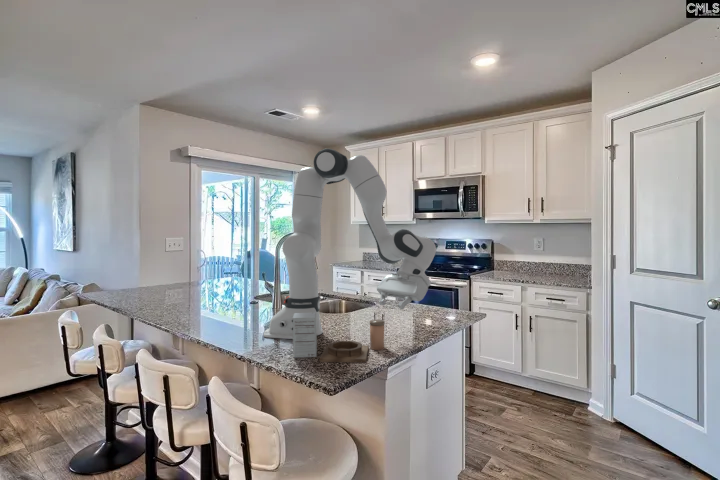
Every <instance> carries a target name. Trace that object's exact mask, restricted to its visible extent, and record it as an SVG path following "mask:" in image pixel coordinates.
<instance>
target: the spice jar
mask: <svg viewBox="0 0 720 480" xmlns="http://www.w3.org/2000/svg"><path fill="white" fill-rule="evenodd" d="M385 322H386V321H385V320H384V319H372V320H371V319H370V320H369V348H370V350H373V351H382V350H384V349H385Z"/></svg>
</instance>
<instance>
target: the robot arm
mask: <svg viewBox="0 0 720 480" xmlns="http://www.w3.org/2000/svg"><path fill="white" fill-rule="evenodd" d="M344 180H347V181H348V183H349V184H350V186H351V187H352V189H353V191H354V193H355V195H356V196H357V198H358V201H359V203H360V205H361V209H362V212H363V215H364V218H365V220H366V222H367V225H368V227H369V230H370V231H371V233H372V236H373V238H374V240H375V244H376V249H377V252H378V253H377V254H378V256H379V258H380V259H381V260H382V261H383V262H385V263H387V264H389V265H390V264H391V265H393V264H397V263H398V262H399V261H401V260H402V263H401V265H400V266H399V268H398V270H397V271H396V273H390V274H387V275H386V276H384V278H382V280H381V281H380V282H379V283H378V285H377V286H376V291H377V292H378V294H379V295H380V299H379V301H378V304H379V305H380V306H385V304H386V302H387V301H386V299H388V297H390V298H391V297H392V298H397V299H403V300H402V301H399V302H398V304H397V307H398V309H399V310H400V309H401V310H404V309H405V307H406V306H408V305H409V304H410V303H411V302H412V301H415V302H420V301H422V300H423V299H424V298H425V296H426V294H427V292H428V290H429V287H430V286H431V284H432V282H431V280H430V278H429V277H428V275H427V274H426V270H427V269H428V268H429V267H430V266H431V263H432V262H433V260H434V257H435V256H436V252H437V246H436V244H435V242H434V241H433V240H432V239H430V238H429V237H425V236H419V235H416V234H414V233H413V232H412V231H410V230H408V229H399V230H397V231H396V232H394V233H393V234H391V233H390V230H389V229H388V226H387V225H386V222H385V220H384V217H383V213H382V212H383V206H384V202H385V200H386V198H387V188H386V184H385V183H384V181H383V179H382V177H381V176H380V174H379V172H378V171H377V168H376V167H375V166H374V165H373V162H371V161H370V160H369V158H368V157H366V156H365V155H362V154H361V155H360V154H359V155H355V156H353V157H350V158H347V156H346V155H344V154H342V153H341V152H339V151H337V150H335V149H332V148H324V149H321V150H319V151H318V152H317V153H316V155H314V158H313V166H312V167H310V166H309V167H304V168H301V169H300V170H299V171H298V173H297V176H296V181H295V184H294V190H293V200H292V210H291V218H292V223H293V233H291V234H290V235H289V236H287V237H286V238H285V240H284V241H283V243H282V252H283V253H282V254H283V255H284V257H285V261H286V268H287V273H288V284H289V285H288V287H289V290H288V291H289V295H288V296H286V297H285V299H284V300H283V304H284V307H283V308H281V309H280V310H279V311H278V312H277V313H275V314H274V315H273V316H272V317H271V319H270V323H269V326H268V327H269V328H266V330H264V331H263V337H264V338H270V339H286V340H293V316H294V313H316V331H317V336H320V335H322V334H323V333H324V331H323V328H322V323H321V316H320V309H321V299H320V295H319V275H318V272H317V268H316V261H315V258H316V257H317V256H318V255H319V253H320V252H321V250H322V227H321V226H322V225H321V220H322V217H321V216H322V208H323V207H322V206H323V196H324V189H325V186H326V185H331V184H335V183H340V182H343V181H344Z"/></svg>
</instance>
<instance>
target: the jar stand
mask: <svg viewBox="0 0 720 480" xmlns="http://www.w3.org/2000/svg"><path fill="white" fill-rule="evenodd" d="M369 348H370V345H363V344H362V343H361V342H358V341H355V340H338V341H334V342H330V343H329V344H326V347H325V348H324V349H323V351H322V353H321V355H320V357H319V361H318V362H319V363H364V364H365V363H366V362H367V358H368V354H369Z"/></svg>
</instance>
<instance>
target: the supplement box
mask: <svg viewBox="0 0 720 480" xmlns="http://www.w3.org/2000/svg"><path fill="white" fill-rule="evenodd" d="M317 336H318V335H317V331H316V313H294V316H293V339H292V345H293V348H292V350H293V352H292V353H293V358H295V359H297V358H316V357H317V353H318V343H317V342H318V339H317Z"/></svg>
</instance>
